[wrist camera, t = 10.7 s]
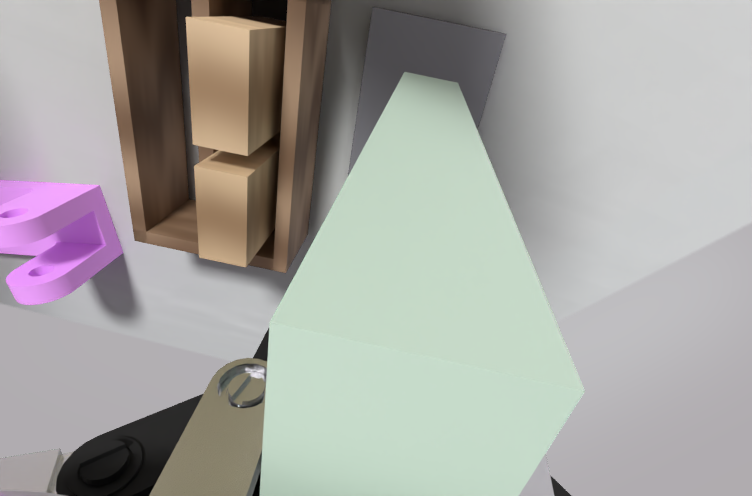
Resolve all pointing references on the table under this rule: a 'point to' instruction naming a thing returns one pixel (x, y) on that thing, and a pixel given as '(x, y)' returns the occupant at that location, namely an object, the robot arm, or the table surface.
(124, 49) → the walnut rack
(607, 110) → the table surface
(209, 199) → the oak offcut
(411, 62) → the charcoal mat
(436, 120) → the green board
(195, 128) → the oak offcut
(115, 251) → the bracket
